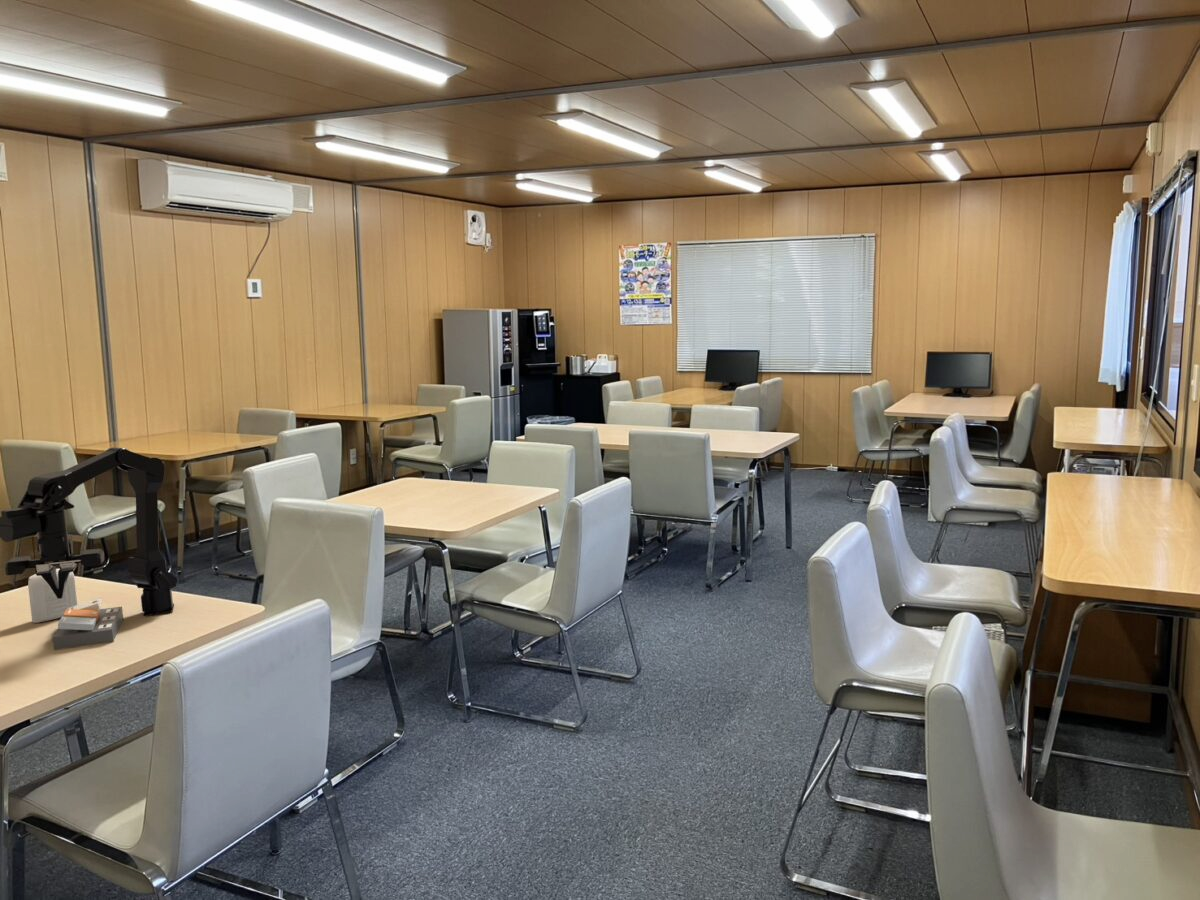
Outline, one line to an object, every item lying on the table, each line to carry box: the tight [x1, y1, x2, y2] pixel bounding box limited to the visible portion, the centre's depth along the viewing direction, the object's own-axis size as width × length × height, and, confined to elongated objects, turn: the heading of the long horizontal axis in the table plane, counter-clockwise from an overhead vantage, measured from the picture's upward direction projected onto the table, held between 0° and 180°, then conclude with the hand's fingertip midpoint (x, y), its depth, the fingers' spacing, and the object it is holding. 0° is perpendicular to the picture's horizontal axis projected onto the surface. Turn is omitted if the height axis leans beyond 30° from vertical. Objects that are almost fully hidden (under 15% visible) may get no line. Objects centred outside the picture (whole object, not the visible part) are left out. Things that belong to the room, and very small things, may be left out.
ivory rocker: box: [69, 597, 103, 610], centre depth 218 cm, size 7×5×2 cm, turn 111°
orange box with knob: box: [63, 609, 100, 622], centre depth 213 cm, size 7×5×2 cm, turn 112°
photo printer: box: [27, 568, 79, 624], centre depth 225 cm, size 10×4×12 cm, turn 135°
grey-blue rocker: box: [57, 617, 96, 630], centre depth 207 cm, size 7×5×2 cm, turn 112°
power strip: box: [51, 606, 124, 651], centre depth 214 cm, size 12×18×4 cm, turn 21°
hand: (60, 598), depth 205 cm, fingers closed
